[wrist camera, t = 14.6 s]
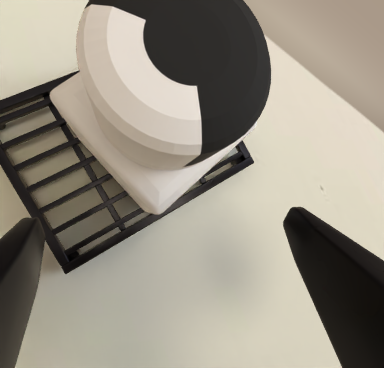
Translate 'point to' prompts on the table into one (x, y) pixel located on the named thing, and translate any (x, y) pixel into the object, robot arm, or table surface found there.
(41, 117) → the table surface
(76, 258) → the wire rack
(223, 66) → the medicine bottle
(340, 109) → the table surface
